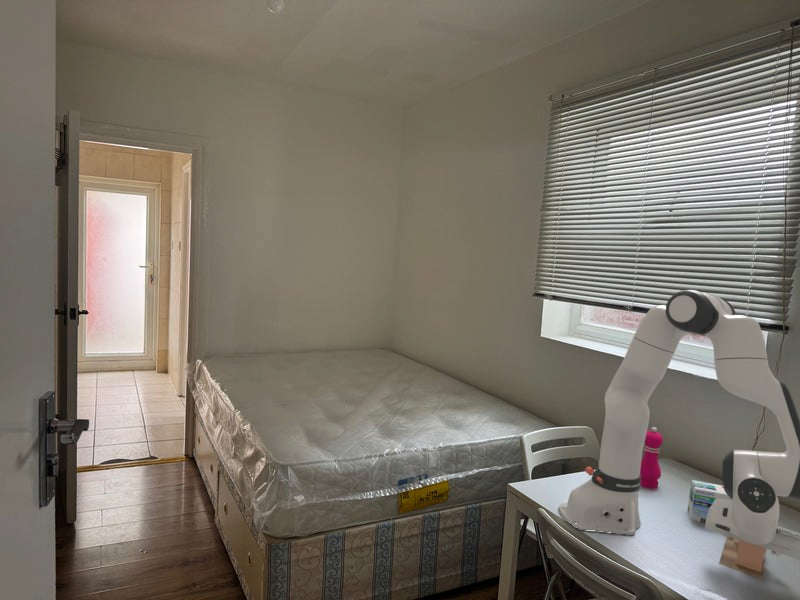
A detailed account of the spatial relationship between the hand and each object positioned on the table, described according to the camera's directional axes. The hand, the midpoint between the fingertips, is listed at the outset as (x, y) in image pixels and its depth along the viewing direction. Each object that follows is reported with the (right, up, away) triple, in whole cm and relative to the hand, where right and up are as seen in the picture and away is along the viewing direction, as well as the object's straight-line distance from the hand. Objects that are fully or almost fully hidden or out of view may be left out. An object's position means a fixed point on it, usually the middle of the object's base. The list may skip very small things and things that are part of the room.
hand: (752, 544), depth 134 cm
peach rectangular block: (0, -5, +1) cm, 5 cm away
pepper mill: (-5, -1, +46) cm, 46 cm away
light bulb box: (+2, -4, +23) cm, 23 cm away
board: (+1, -6, +5) cm, 8 cm away
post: (+4, -4, +11) cm, 12 cm away
